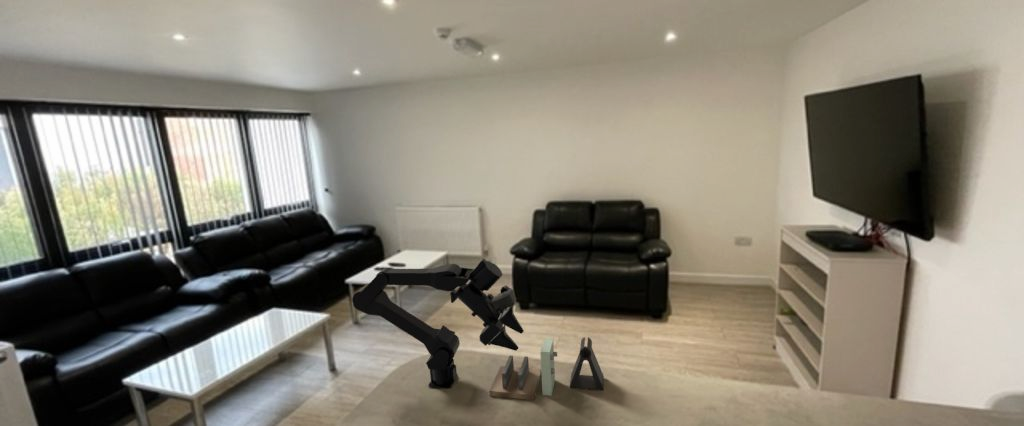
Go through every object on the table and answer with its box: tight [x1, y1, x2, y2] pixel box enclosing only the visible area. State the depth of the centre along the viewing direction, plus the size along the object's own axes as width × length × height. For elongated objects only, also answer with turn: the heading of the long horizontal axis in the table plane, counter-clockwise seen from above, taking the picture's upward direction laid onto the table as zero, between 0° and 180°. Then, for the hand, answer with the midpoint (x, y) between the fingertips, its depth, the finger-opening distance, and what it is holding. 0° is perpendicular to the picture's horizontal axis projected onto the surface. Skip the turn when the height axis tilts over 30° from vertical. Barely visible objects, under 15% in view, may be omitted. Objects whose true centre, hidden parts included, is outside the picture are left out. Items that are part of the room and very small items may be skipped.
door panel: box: [540, 338, 558, 397], centre depth 114 cm, size 3×7×12 cm, turn 167°
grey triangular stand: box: [569, 337, 605, 391], centre depth 115 cm, size 9×6×12 cm, turn 77°
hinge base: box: [488, 355, 542, 401], centre depth 117 cm, size 12×12×6 cm
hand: (520, 340), depth 114 cm, fingers open, 9 cm apart
